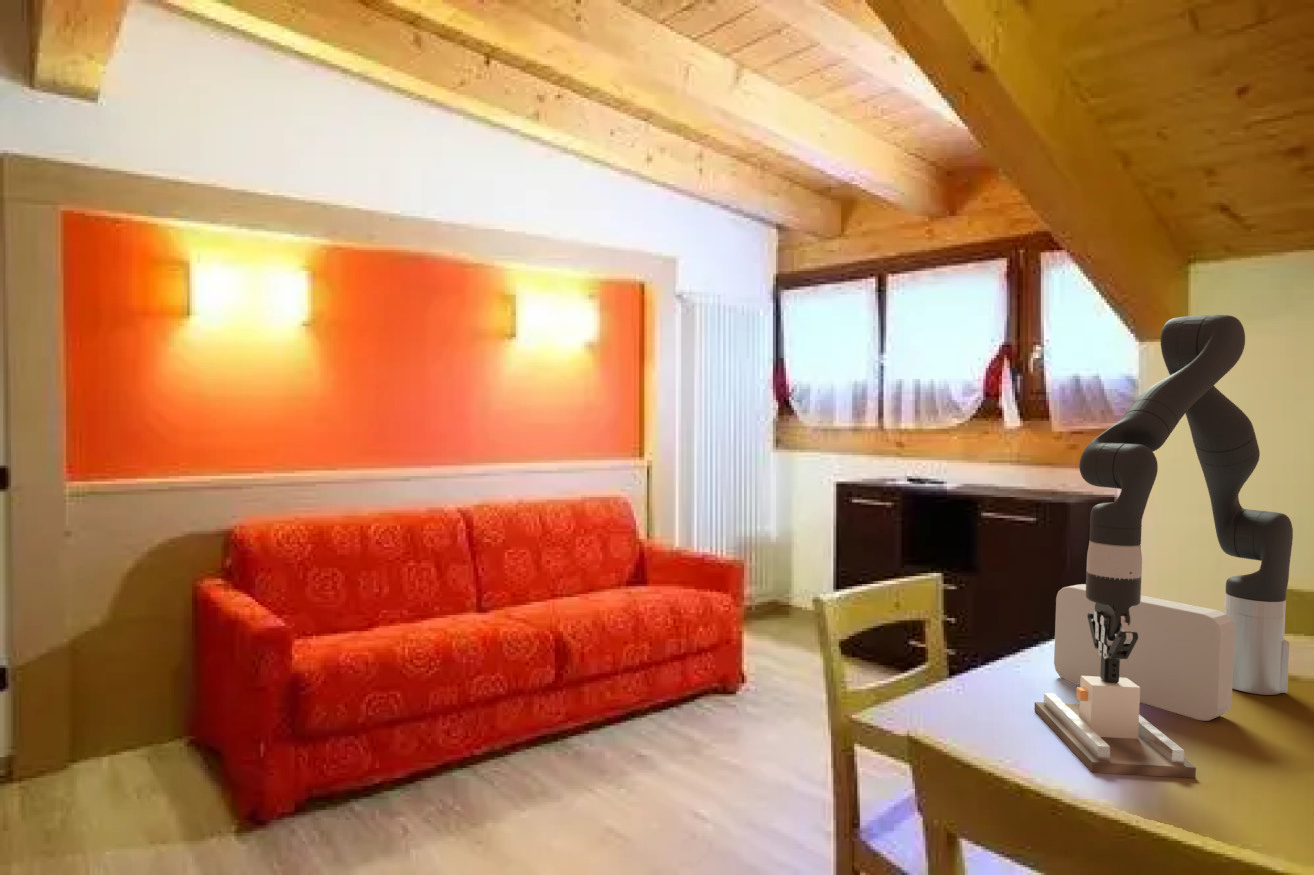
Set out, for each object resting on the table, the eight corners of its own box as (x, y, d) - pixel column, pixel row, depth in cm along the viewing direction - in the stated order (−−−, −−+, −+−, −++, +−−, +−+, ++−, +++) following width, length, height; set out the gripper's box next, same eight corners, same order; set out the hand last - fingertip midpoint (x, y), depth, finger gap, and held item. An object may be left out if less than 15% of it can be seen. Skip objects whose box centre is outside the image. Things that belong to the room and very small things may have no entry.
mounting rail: (1115, 707, 142) (1116, 696, 142) (1183, 764, 120) (1184, 750, 120) (1043, 704, 143) (1044, 692, 143) (1097, 759, 121) (1098, 745, 121)
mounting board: (1120, 714, 143) (1120, 706, 143) (1195, 778, 119) (1195, 767, 119) (1034, 710, 144) (1034, 702, 144) (1091, 772, 120) (1092, 762, 120)
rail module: (1125, 727, 133) (1126, 677, 133) (1138, 738, 129) (1140, 687, 129) (1071, 724, 134) (1073, 675, 134) (1082, 736, 130) (1084, 685, 129)
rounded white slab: (1237, 716, 143) (1242, 611, 142) (1216, 725, 139) (1221, 617, 138) (1075, 670, 167) (1078, 580, 166) (1053, 676, 163) (1056, 584, 162)
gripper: (1160, 581, 123) (1155, 697, 124) (1120, 564, 137) (1115, 669, 137) (1106, 579, 124) (1102, 695, 125) (1071, 562, 137) (1068, 667, 138)
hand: (1109, 681), depth 131 cm, fingers closed
